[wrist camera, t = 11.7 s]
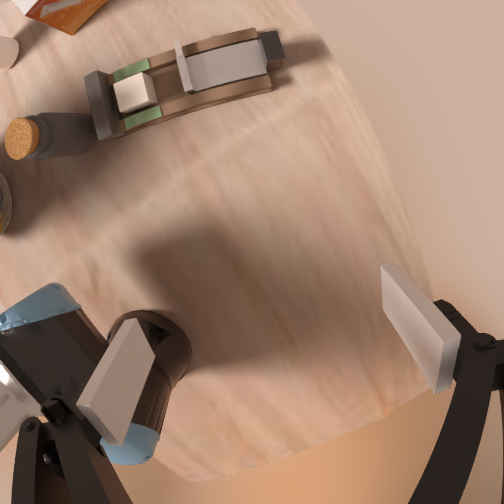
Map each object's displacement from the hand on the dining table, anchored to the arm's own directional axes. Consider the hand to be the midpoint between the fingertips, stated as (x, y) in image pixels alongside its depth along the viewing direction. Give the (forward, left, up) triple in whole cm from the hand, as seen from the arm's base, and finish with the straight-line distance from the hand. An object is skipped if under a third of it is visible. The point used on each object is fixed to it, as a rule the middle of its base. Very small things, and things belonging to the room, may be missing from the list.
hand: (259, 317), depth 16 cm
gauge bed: (-5, +19, -29) cm, 35 cm away
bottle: (-22, +17, -29) cm, 40 cm away
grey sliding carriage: (+1, +20, -27) cm, 34 cm away
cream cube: (-11, +19, -28) cm, 35 cm away
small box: (-18, +38, -29) cm, 51 cm away
